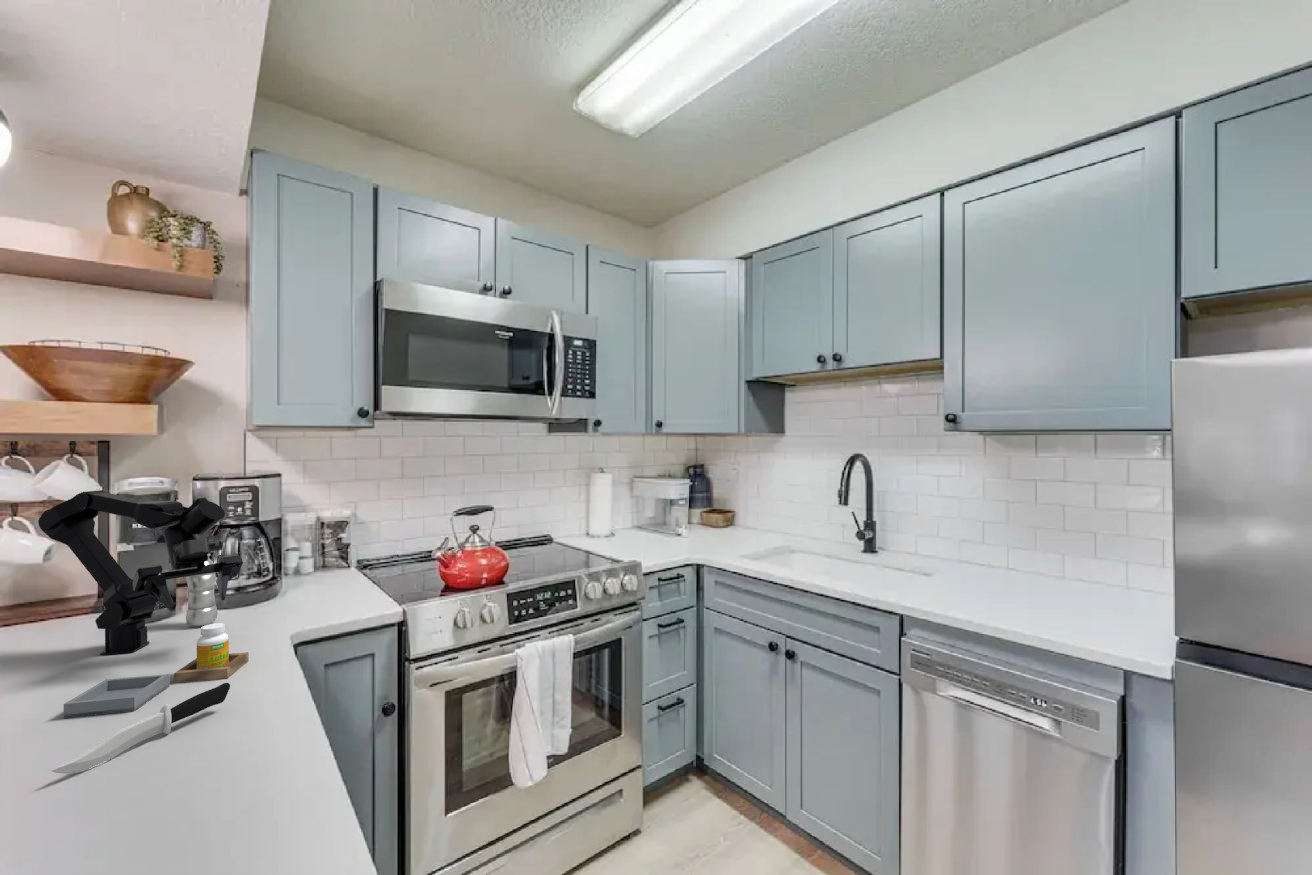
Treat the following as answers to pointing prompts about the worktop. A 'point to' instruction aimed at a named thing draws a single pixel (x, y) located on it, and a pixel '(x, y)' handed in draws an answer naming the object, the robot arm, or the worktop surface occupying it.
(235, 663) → the wooden frame
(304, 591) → the worktop surface
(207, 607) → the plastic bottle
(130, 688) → the tray
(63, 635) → the worktop surface
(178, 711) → the knife
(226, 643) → the supplement bottle
